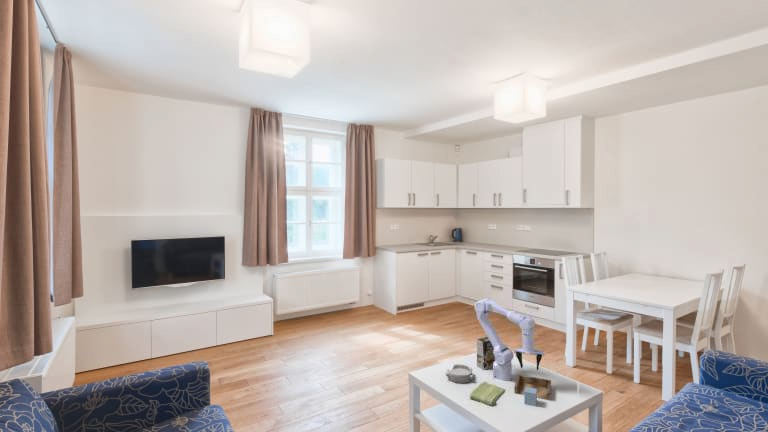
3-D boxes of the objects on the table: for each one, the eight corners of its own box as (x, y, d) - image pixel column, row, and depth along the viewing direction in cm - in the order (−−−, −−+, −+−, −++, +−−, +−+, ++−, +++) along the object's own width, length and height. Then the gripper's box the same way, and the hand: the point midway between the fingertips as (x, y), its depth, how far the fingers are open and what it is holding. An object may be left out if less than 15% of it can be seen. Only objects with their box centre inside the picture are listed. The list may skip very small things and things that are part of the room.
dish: (444, 382, 201) (444, 372, 200) (449, 370, 214) (449, 362, 213) (472, 386, 195) (472, 376, 195) (475, 374, 208) (475, 365, 208)
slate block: (524, 406, 176) (524, 391, 175) (525, 401, 180) (525, 386, 180) (535, 408, 173) (535, 393, 173) (536, 403, 178) (536, 388, 178)
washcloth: (506, 392, 189) (506, 386, 189) (493, 408, 175) (493, 401, 175) (482, 385, 197) (482, 379, 197) (467, 399, 183) (467, 393, 183)
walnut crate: (514, 395, 185) (514, 386, 185) (517, 382, 198) (517, 374, 198) (549, 402, 178) (549, 393, 178) (551, 389, 191) (551, 380, 191)
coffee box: (484, 370, 213) (483, 342, 212) (476, 366, 219) (476, 338, 218) (496, 366, 217) (495, 339, 217) (488, 362, 223) (488, 336, 222)
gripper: (512, 342, 191) (513, 369, 191) (543, 345, 185) (544, 373, 185) (514, 338, 198) (515, 364, 198) (543, 341, 191) (545, 367, 191)
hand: (529, 368), depth 192 cm, fingers open, 7 cm apart
